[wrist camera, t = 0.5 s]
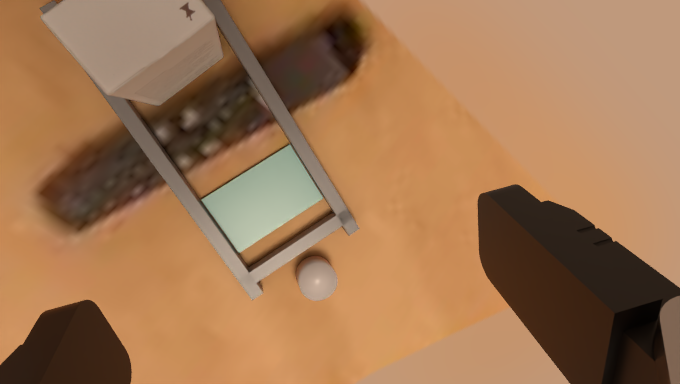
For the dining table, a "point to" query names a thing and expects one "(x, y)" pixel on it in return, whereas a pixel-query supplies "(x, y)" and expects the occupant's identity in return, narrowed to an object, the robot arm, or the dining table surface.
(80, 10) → the skincare box
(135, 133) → the guide channel
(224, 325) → the dining table surface
